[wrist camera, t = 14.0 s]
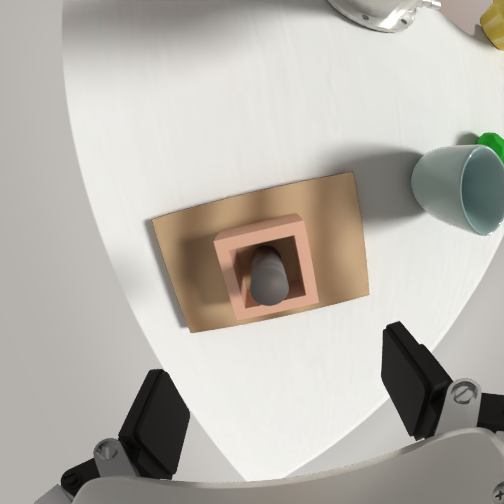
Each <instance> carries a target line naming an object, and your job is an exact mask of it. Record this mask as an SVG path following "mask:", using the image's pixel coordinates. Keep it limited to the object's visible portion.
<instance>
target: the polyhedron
mask: <svg viewBox="0 0 504 504" xmlns="http://www.w3.org/2000/svg"><path fill="white" fill-rule="evenodd" d="M477 145H485V146H487V147H489V148H491V149H492V150H493V151H494V152H495V153H496V154H497V155H498V156H499V158H500V160H501V161H502V163H503V165H504V139H502V138H501V137H500V136H499V135H498V134H496V133H484V134H483V135H482V136H481V137H479V140H478V142H477Z"/></svg>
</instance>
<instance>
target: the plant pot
mask: <svg viewBox="0 0 504 504" xmlns="http://www.w3.org/2000/svg"><path fill="white" fill-rule="evenodd" d="M493 2H494V3H493V4H492V5H491V6H490V7H489V9H488V10H487V11H486V12H485V13H484V14H483V15H482V17H481V18H480V23H481V27H482V29H483V31H484V32H485V34H486V36H487V37H488V39H489V40H490V41H491V42H492V43H493V44H494V46H496V47H497V48H498V49H500V50H504V0H493Z"/></svg>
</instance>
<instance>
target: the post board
mask: <svg viewBox="0 0 504 504" xmlns="http://www.w3.org/2000/svg"><path fill="white" fill-rule="evenodd" d="M296 213H297V214H298V215H299V216H300V217H301V218H302V219H303V220H304V222H305V227H306V232H307V237H308V243H309V248H310V253H311V259H312V264H313V270H314V276H315V282H316V288H317V294H318V300H319V303H315V304H311V305H307V306H303V307H298V308H294V309H290V310H285V311H281V312H276V313H271V314H267V315H262V316H257V317H252V318H247V319H242V320H237V319H236V316H235V313H234V309H233V306H232V303H231V300H230V296H229V293H228V290H227V286H226V283H225V280H224V276H223V273H222V269H221V266H220V263H219V259H218V256H217V252H216V249H215V245H214V242H213V241H214V240H215V238H216V237H217V235H218V234H219V232H220V231H223V230H228V229H232V228H236V227H240V226H244V225H248V224H253V223H257V222H261V221H265V220H270V219H274V218H278V217H283V216H287V215H292V214H296ZM152 222H153V225H154V229H155V232H156V236H157V239H158V242H159V245H160V249H161V252H162V255H163V258H164V261H165V264H166V267H167V270H168V273H169V276H170V279H171V282H172V285H173V287H174V290H175V293H176V296H177V299H178V301H179V304H180V307H181V309H182V312H183V315H184V317H185V320H186V323H187V325H188V328H189V330H190V333H195V332H202V331H208V330H214V329H220V328H226V327H232V326H237V325H243V324H248V323H253V322H258V321H263V320H268V319H273V318H278V317H282V316H287V315H291V314H296V313H300V312H305V311H309V310H313V309H317V308H321V307H325V306H329V305H333V304H337V303H341V302H345V301H349V300H353V299H356V298H360V297H363V296H367V295H369V283H368V271H367V260H366V251H365V242H364V234H363V227H362V220H361V213H360V207H359V201H358V195H357V189H356V184H355V179H354V174H353V172H347V173H342V174H336V175H331V176H326V177H320V178H315V179H310V180H305V181H300V182H296V183H291V184H286V185H281V186H277V187H272V188H268V189H264V190H259V191H255V192H251V193H246V194H242V195H238V196H234V197H230V198H226V199H222V200H218V201H214V202H211V203H207V204H203V205H199V206H196V207H192V208H188V209H185V210H181V211H178V212H174V213H171V214H167V215H164V216H160V217H157V218H155V219H153V220H152ZM236 252H237V256H238V260H239V264H240V267H241V271H242V275H243V278H244V282H245V286H246V289H247V290H250V292H251V295H252V297H253V298H254V300H255V301H256V302H258V303H259V304H261V305H265V306H273V305H277V304H279V303H281V302H282V301H283V300H284V299H285V298H286V296H287V294H288V291H289V284H288V281H291V280H295V279H299V273H298V268H297V263H296V258H295V253H294V248H293V243H292V239H291V236H288V237H284V238H280V239H275V240H271V241H266V242H262V243H258V244H253V245H249V246H245V247H240V248H236Z"/></svg>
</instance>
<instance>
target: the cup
mask: <svg viewBox="0 0 504 504" xmlns="http://www.w3.org/2000/svg"><path fill="white" fill-rule="evenodd" d="M411 186H412V190H413V194H414V196H415V198H416V200H417V202H418V203H419V205H420V206H421V207H422V208H423V209H424V210H425V211H426V212H427V213H429V214H430V215H431V216H432V217H434V218H436V219H438V220H440V221H442V222H444V223H446V224H449V225H451V226H454V227H456V228H459V229H462V230H464V231H467V232H470V233H473V234H476V235H481V236H486V235H489V234H491V233H493V232H494V231H495V230H496V229H497V228H498V227H499V225H500V224H501V222H502V221H503V219H504V165H503V163H502V161H501V160H500V158H499V156H498V155H497V154H496V153H495V152H494V151H493V150H492V149H491V148H489V147H487V146H485V145H456V146H447V147H442V148H438V149H435V150H432V151H430V152H428V153H426V154H425V155H424V156H422V157H421V158H420V160H419V161H418V162H417V164H416V165H415V167H414V170H413V172H412V177H411Z"/></svg>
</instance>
